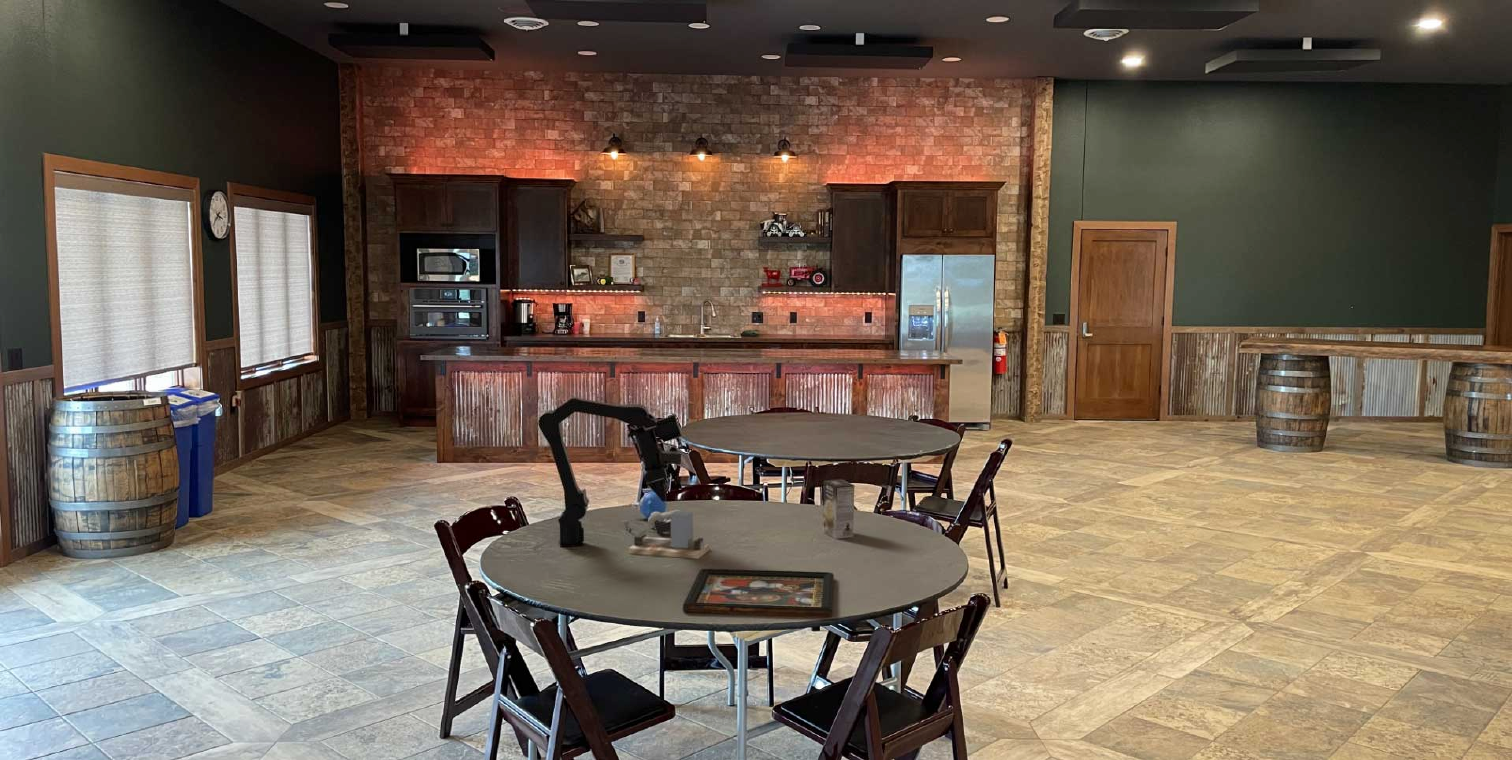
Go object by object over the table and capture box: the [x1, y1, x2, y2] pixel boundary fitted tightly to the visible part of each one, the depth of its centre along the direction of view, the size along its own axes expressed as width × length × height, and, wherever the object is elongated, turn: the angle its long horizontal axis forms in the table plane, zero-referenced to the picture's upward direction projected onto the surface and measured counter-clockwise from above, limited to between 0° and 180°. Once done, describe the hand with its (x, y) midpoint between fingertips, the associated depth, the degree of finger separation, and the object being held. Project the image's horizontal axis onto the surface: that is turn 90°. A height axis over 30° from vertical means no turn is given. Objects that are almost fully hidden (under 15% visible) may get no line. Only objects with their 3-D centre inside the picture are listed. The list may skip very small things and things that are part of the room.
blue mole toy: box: [628, 491, 667, 518], centre depth 339 cm, size 12×12×8 cm
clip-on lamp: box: [624, 509, 681, 536], centre depth 323 cm, size 12×6×18 cm
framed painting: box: [682, 568, 835, 618], centre depth 260 cm, size 38×35×3 cm
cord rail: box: [628, 533, 710, 560], centre depth 299 cm, size 20×11×4 cm, turn 75°
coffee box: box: [822, 478, 855, 540], centre depth 318 cm, size 9×6×16 cm
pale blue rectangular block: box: [670, 510, 694, 548], centre depth 298 cm, size 5×5×9 cm
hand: (664, 497), depth 307 cm, fingers open, 9 cm apart
